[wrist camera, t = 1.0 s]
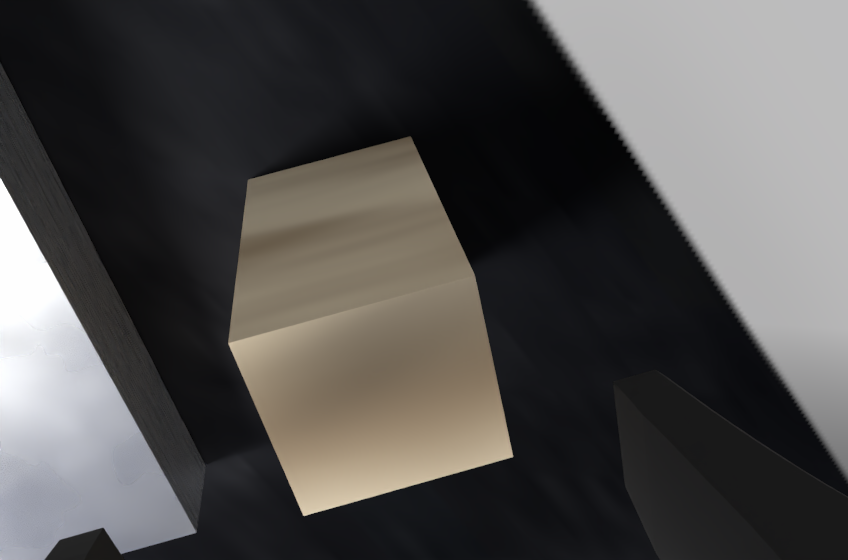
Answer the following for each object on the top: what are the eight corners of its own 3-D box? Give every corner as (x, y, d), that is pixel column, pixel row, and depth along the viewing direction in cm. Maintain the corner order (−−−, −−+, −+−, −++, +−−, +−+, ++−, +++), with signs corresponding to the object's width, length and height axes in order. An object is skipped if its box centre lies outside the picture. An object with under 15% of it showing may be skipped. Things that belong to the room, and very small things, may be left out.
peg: (443, 276, 20) (513, 457, 14) (298, 316, 20) (303, 516, 14) (410, 136, 18) (475, 274, 12) (248, 179, 18) (227, 343, 12)
